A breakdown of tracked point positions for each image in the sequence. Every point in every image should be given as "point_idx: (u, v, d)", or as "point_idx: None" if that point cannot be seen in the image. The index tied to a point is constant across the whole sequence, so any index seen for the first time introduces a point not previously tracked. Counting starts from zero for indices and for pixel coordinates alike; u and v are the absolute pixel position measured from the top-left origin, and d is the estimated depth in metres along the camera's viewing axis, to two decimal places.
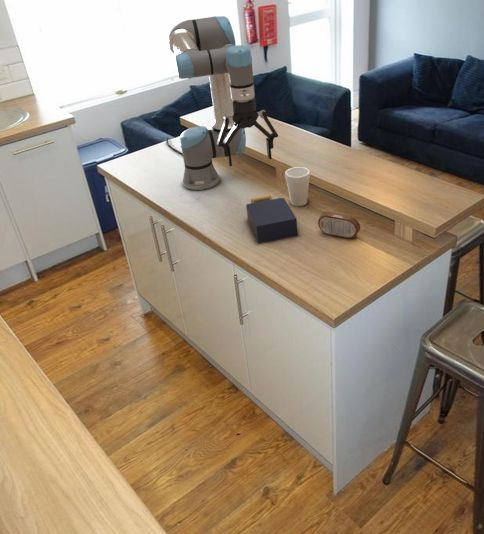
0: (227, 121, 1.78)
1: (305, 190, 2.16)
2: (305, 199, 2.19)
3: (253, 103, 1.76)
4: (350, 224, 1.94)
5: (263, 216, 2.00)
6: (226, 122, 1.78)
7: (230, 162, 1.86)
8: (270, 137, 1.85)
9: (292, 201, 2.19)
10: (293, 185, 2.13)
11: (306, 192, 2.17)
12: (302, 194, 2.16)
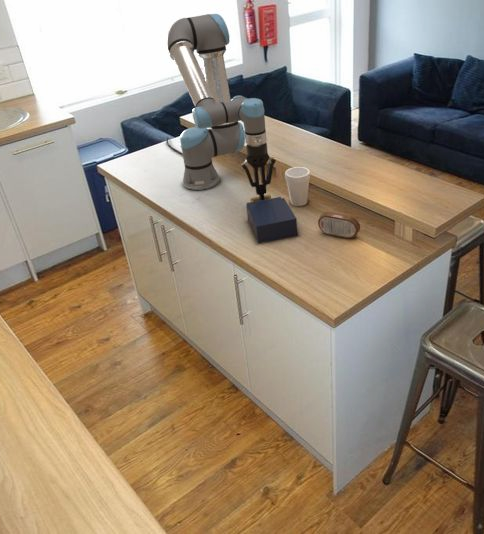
0: (245, 167, 2.05)
1: (305, 190, 2.16)
2: (305, 199, 2.19)
3: (265, 147, 2.01)
4: (350, 224, 1.94)
5: (263, 216, 2.00)
6: (245, 168, 2.05)
7: (261, 199, 2.14)
8: (264, 183, 2.11)
9: (292, 201, 2.19)
10: (293, 185, 2.13)
11: (306, 192, 2.17)
12: (302, 194, 2.16)
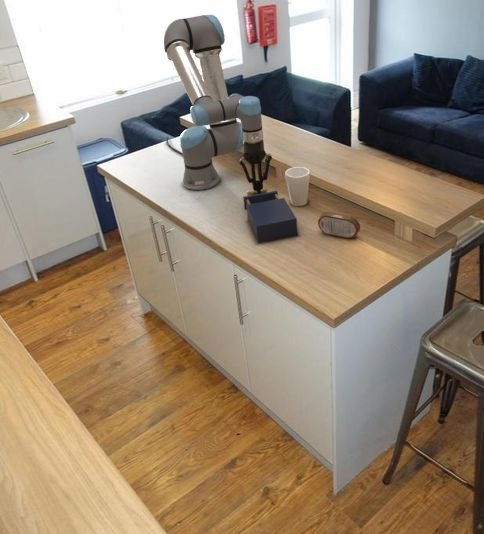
0: (242, 163, 2.10)
1: (305, 190, 2.16)
2: (305, 199, 2.19)
3: (261, 144, 2.06)
4: (350, 224, 1.94)
5: (263, 216, 2.00)
6: (242, 164, 2.10)
7: None
8: (261, 179, 2.15)
9: (292, 201, 2.19)
10: (293, 185, 2.13)
11: (306, 192, 2.17)
12: (302, 194, 2.16)
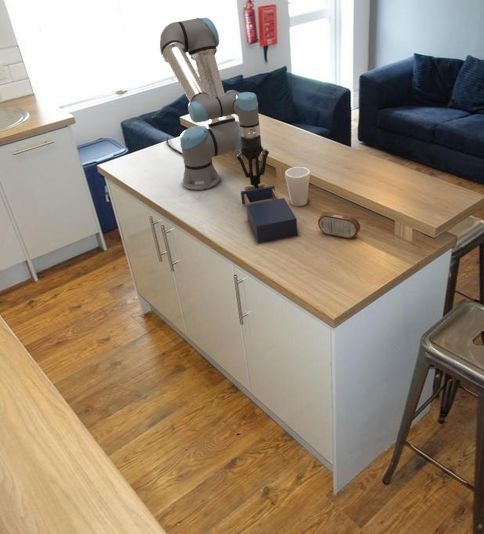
0: (239, 158, 2.13)
1: (305, 190, 2.16)
2: (305, 199, 2.19)
3: (258, 139, 2.10)
4: (350, 224, 1.94)
5: (263, 216, 2.00)
6: (239, 159, 2.14)
7: None
8: (258, 174, 2.19)
9: (292, 201, 2.19)
10: (293, 185, 2.13)
11: (306, 192, 2.17)
12: (302, 194, 2.16)
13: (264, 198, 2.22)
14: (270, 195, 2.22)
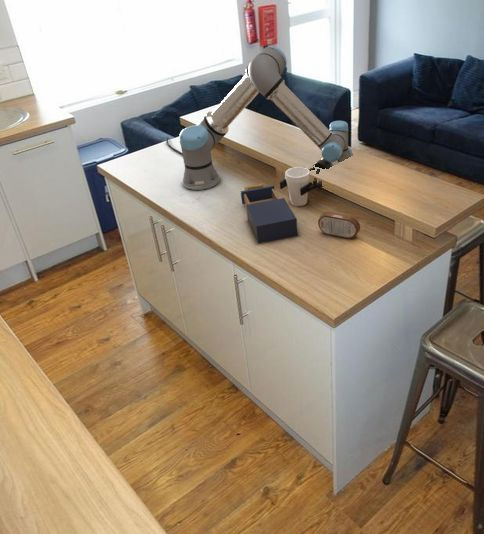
0: None
1: None
2: (305, 199, 2.19)
3: None
4: (350, 224, 1.94)
5: (263, 216, 2.00)
6: None
7: None
8: None
9: (292, 201, 2.19)
10: (293, 185, 2.13)
11: None
12: None
13: (264, 198, 2.22)
14: (270, 195, 2.22)
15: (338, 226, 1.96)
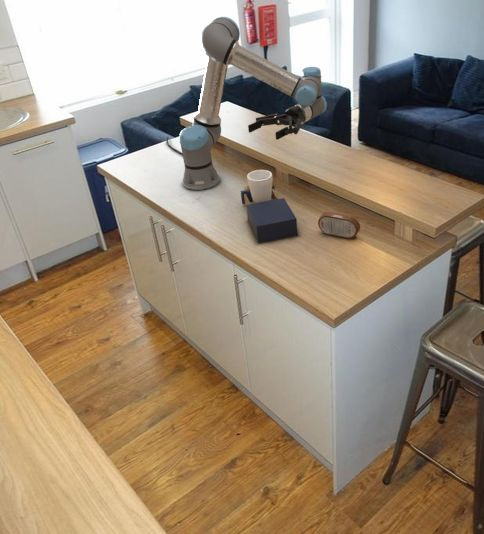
0: None
1: (268, 194, 2.11)
2: None
3: None
4: (350, 224, 1.94)
5: (263, 216, 2.00)
6: None
7: None
8: None
9: None
10: (255, 188, 2.08)
11: (269, 196, 2.12)
12: (265, 198, 2.11)
13: None
14: None
15: (338, 226, 1.96)
